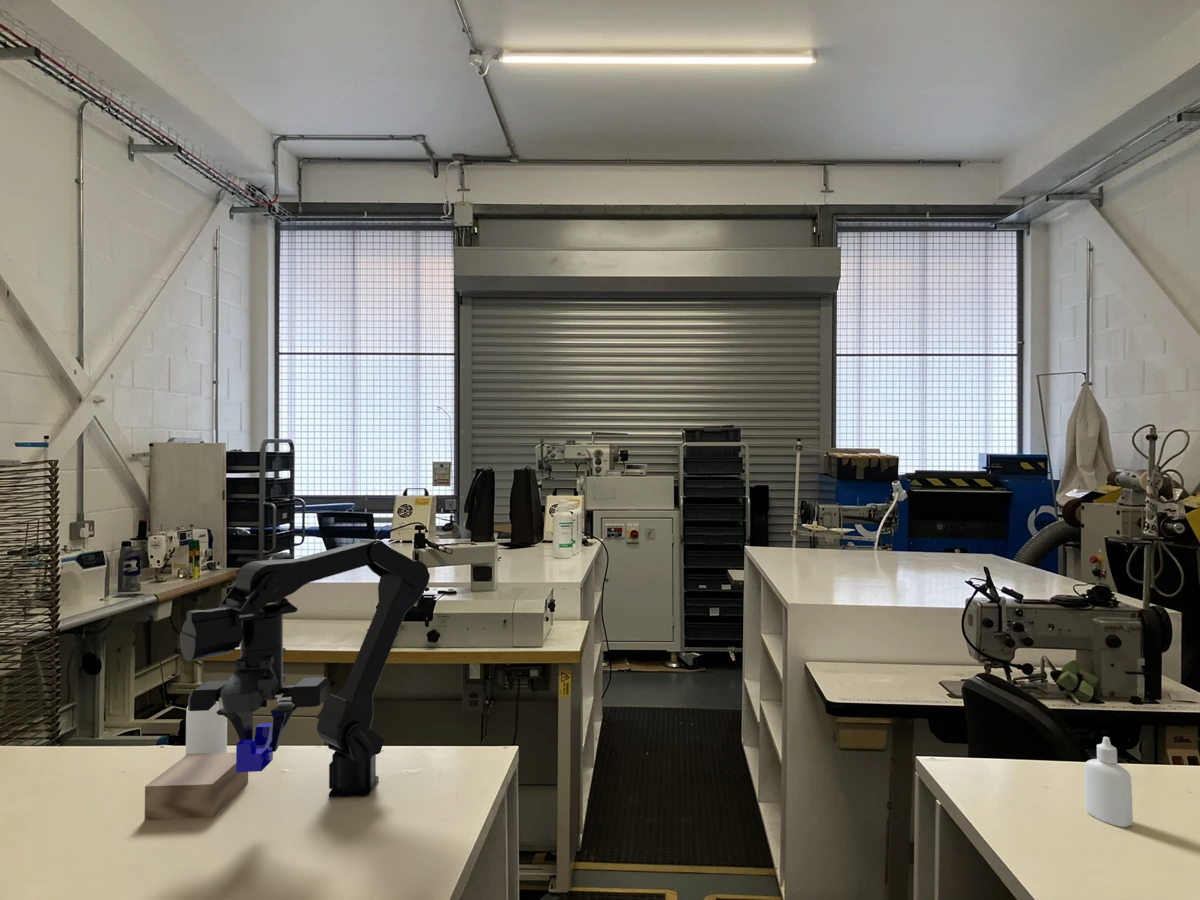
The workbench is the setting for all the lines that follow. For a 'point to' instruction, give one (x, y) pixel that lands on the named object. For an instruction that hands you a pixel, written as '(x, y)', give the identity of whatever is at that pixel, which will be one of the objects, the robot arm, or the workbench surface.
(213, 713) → the can
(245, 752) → the cable holder
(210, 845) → the workbench surface
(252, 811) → the workbench surface
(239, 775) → the plate
